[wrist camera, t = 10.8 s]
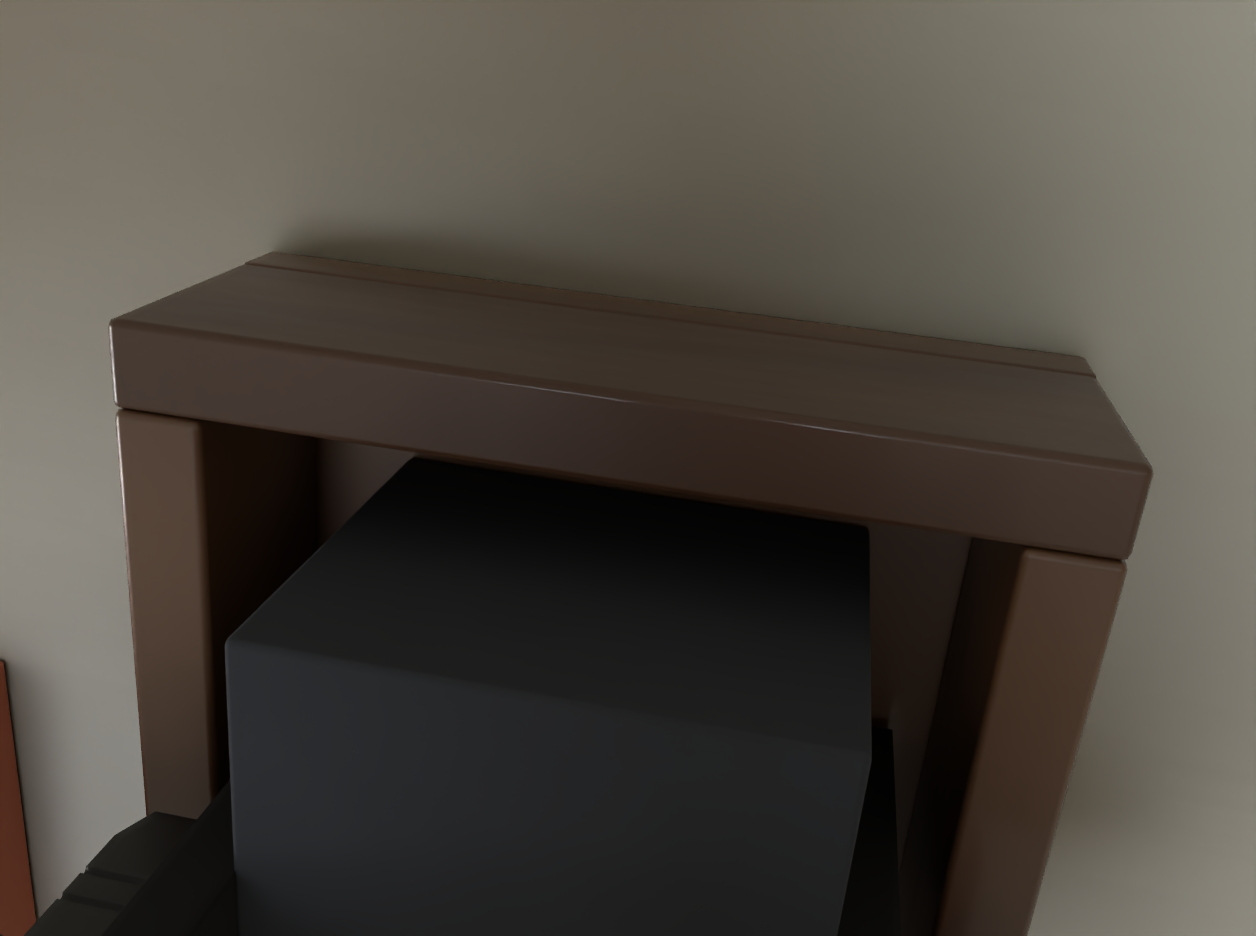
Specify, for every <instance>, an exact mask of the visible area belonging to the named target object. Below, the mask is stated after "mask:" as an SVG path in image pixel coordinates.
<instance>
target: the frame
mask: <svg viewBox="0 0 1256 936" xmlns="http://www.w3.org/2000/svg"><path fill="white" fill-rule="evenodd" d="M108 330H109V343H110V355H111V368H112V381H113V394H114V402H115V404H116V405H117V406H119V407H121V409H119V410H118V412H117V414H116V431H117V443H118V456H119V469H120V482H121V495H122V508H123V520H124V533H125V546H126V559H127V572H128V584H129V597H130V610H131V623H132V636H133V648H134V661H135V674H136V687H137V700H138V712H139V725H140V738H141V751H142V764H143V776H144V789H145V802H146V815H147V816H148V815H150V814H152V813H153V812H155V811H157V812H162V813H167V814H172V815H177V816H182V817H187V818H192V819H198V818H199V816H200V815H201V814H202V813H203V811H204V810H205V809H206V808H207V807H208V805H209V804H210V803H211V802H212V801H213V799H214V798H215V797H216V796H217V794H218V793H219V792H220V791H221V790H222V788H223V787H224V786H225V785H226V784H227V782H228V781H229V780H230V758H229V735H228V712H227V689H226V666H225V643H226V641H227V638H228V637H229V636H230V635H231V634H232V633H234V632H235V631H236V630H237V629H238V628H239V627H240V626H241V625H242V624H243V623H244V622H245V621H246V620H247V619H248V618H249V617H250V616H251V615H252V614H253V613H254V612H255V611H256V610H257V609H258V608H259V607H260V606H261V605H262V604H263V603H264V602H265V601H266V600H267V599H268V598H269V597H270V596H271V595H272V594H273V593H274V592H275V591H276V590H277V589H278V588H279V587H280V586H281V585H282V584H283V583H284V582H285V581H286V580H287V579H288V578H289V577H290V576H291V575H292V574H293V573H294V572H296V571H297V570H298V569H299V568H300V567H301V566H302V565H303V564H304V563H305V562H306V561H307V560H308V559H309V558H310V557H311V556H312V555H313V554H314V553H315V552H316V551H317V550H318V549H319V548H320V547H321V546H322V545H323V544H324V543H325V542H326V541H327V540H328V539H329V538H330V537H331V536H332V535H333V534H334V533H335V532H336V531H337V530H338V529H339V528H340V527H341V526H342V525H343V524H344V523H345V522H346V521H347V520H348V519H349V518H350V517H351V516H352V515H353V514H354V513H355V512H356V511H357V510H359V509H360V508H361V507H362V506H363V505H364V504H365V503H366V502H367V501H368V500H369V499H370V498H371V497H372V496H373V495H374V494H375V493H376V492H377V491H378V490H379V489H380V488H381V487H382V486H383V485H384V484H385V483H386V482H387V481H388V480H389V479H390V478H391V477H392V476H393V475H394V474H395V473H396V472H397V471H398V470H399V469H400V468H401V467H402V466H403V465H404V464H405V463H406V462H407V461H408V460H409V459H413V458H414V459H421V460H427V461H434V462H440V463H447V464H453V465H460V466H466V467H473V468H479V469H486V470H492V471H499V472H505V473H512V474H518V475H525V476H531V477H537V478H544V479H550V480H557V481H563V482H570V483H576V484H583V485H589V486H596V487H602V488H609V489H615V490H622V491H628V492H634V493H641V494H647V495H654V496H660V497H667V498H673V499H680V500H686V501H693V502H699V503H706V504H712V505H719V506H725V507H732V508H738V509H744V510H751V511H757V512H764V513H770V514H777V515H783V516H790V517H796V518H803V519H809V520H816V521H822V522H829V523H835V524H842V525H848V526H854V527H861V528H865V529H867V530H868V531H869V541H870V639H871V726H874V727H880V728H885V729H891V730H893V752H894V776H895V801H896V825H897V849H898V873H899V897H900V922H901V936H1027V934H1028V931H1029V927H1030V923H1031V920H1032V916H1033V913H1034V909H1035V905H1036V902H1037V898H1038V894H1039V891H1040V887H1041V883H1042V880H1043V876H1044V872H1045V869H1046V865H1047V861H1048V858H1049V854H1050V850H1051V847H1052V843H1053V839H1054V836H1055V832H1056V828H1057V825H1058V821H1059V817H1060V814H1061V810H1062V807H1063V803H1064V799H1065V796H1066V792H1067V788H1068V785H1069V781H1070V777H1071V774H1072V770H1073V766H1074V763H1075V759H1076V755H1077V752H1078V748H1079V744H1080V741H1081V737H1082V733H1083V730H1084V726H1085V722H1086V719H1087V715H1088V712H1089V708H1090V704H1091V701H1092V697H1093V693H1094V690H1095V686H1096V682H1097V679H1098V675H1099V671H1100V668H1101V664H1102V660H1103V657H1104V653H1105V649H1106V646H1107V642H1108V638H1109V635H1110V631H1111V627H1112V624H1113V620H1114V616H1115V613H1116V609H1117V606H1118V602H1119V598H1120V595H1121V591H1122V587H1123V584H1124V580H1125V576H1126V573H1127V566H1126V562H1125V559H1128V557H1129V556H1130V554H1131V553H1132V550H1133V546H1134V542H1135V539H1136V535H1137V531H1138V528H1139V524H1140V520H1141V517H1142V513H1143V510H1144V506H1145V502H1146V499H1147V495H1148V491H1149V488H1150V484H1151V480H1152V477H1153V470H1152V466H1151V465H1150V463H1149V461H1148V460H1147V458H1146V457H1145V455H1144V453H1143V452H1142V450H1141V449H1140V447H1139V446H1138V444H1137V442H1136V441H1135V439H1134V438H1133V436H1132V435H1131V433H1130V431H1129V430H1128V428H1127V427H1126V425H1125V424H1124V422H1123V420H1122V419H1121V417H1120V416H1119V414H1118V413H1117V411H1116V409H1115V408H1114V406H1113V405H1112V403H1111V402H1110V400H1109V398H1108V397H1107V395H1106V394H1105V392H1104V390H1103V389H1102V387H1101V386H1100V384H1099V383H1098V381H1097V380H1096V375H1095V374H1094V372H1093V371H1092V369H1091V367H1090V366H1089V364H1088V363H1087V361H1086V360H1085V359H1084V358H1082V357H1075V356H1067V355H1059V354H1052V353H1044V352H1036V351H1029V350H1021V349H1013V348H1006V347H998V346H991V345H983V344H975V343H968V342H960V341H952V340H945V339H937V338H929V337H922V336H914V335H906V334H899V333H891V332H883V331H876V330H868V329H860V328H853V327H845V326H838V325H830V324H822V323H815V322H807V321H799V320H792V319H784V318H776V317H769V316H761V315H753V314H746V313H738V312H730V311H723V310H715V309H707V308H700V307H692V306H685V305H677V304H669V303H662V302H654V301H646V300H639V299H631V298H623V297H616V296H608V295H600V294H593V293H585V292H577V291H570V290H562V289H554V288H547V287H539V286H532V285H524V284H516V283H509V282H501V281H493V280H486V279H478V278H470V277H463V276H455V275H447V274H440V273H432V272H424V271H417V270H409V269H401V268H394V267H386V266H378V265H371V264H363V263H356V262H348V261H340V260H333V259H325V258H317V257H310V256H302V255H294V254H287V253H279V252H270V253H268V254H265V255H263V256H260V257H258V258H256V259H253V260H251V261H248V262H246V263H245V265H242V266H239V267H237V268H235V269H232V270H230V271H227V272H225V273H222V274H220V275H218V276H215V277H213V278H210V279H208V280H205V281H203V282H201V283H198V284H196V285H193V286H191V287H189V288H186V289H184V290H181V291H179V292H176V293H174V294H172V295H169V296H167V297H164V298H162V299H160V300H157V301H155V302H152V303H150V304H147V305H145V306H143V307H140V308H138V309H135V310H133V311H131V312H128V313H126V314H123V315H121V316H118V317H116V318H114V319H111V321H110V323H109V327H108Z"/></svg>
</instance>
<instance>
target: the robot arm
mask: <svg viewBox="0 0 1256 936" xmlns="http://www.w3.org/2000/svg"><path fill="white" fill-rule="evenodd" d="M871 736H872V762H871V767H870V772H869V777H868V782H867V787H866V792H865V797H864V802H863V807H862V812H861V817H860V823H859V828H858V833H857V838H856V843H855V848H854V853H853V858H852V863H851V868H850V873H849V878H848V883H847V888H846V893H845V899H844V904H843V909H842V914H841V919H840V924H839V929H838V934H837V936H901V922H900V897H899V873H898V849H897V825H896V801H895V776H894V752H893V730H891V729H885V728H880V727H874V726H871ZM0 936H3V935H1V934H0ZM24 936H238V920H237V897H236V875H235V870H234V850H233V827H232V804H231V781H230V780H229V781H228V782H227V784H226V785H225V786H224V787H223V788H222V790H221V791H220V792H219V793H218V794H217V796H216V797H215V798H214V799H213V801H212V802H211V803H210V804H209V805H208V807H207V808H206V809H205V810H204V811H203V813H202V814H201V815H200V816H199V818H198V819H192V818H187V817H182V816H177V815H172V814H167V813H162V812H157V811H155V812H153V813H152V814H150V815H148V816H147V817H145V818H143V819H141V820H140V821H138V822H136V823H135V824H133V825H131V826H130V827H128V828H126V829H125V830H123V831H121V832H119V833H118V834H116V835H114V837H113V838H112V839H111V840H110V841H109V842H108V843H107V844H106V845H105V847H104V848H103V849H102V850H101V851H100V852H99V853H98V854H97V855H96V856H95V858H94V859H93V860H92V861H91V862H90V863H89V864H88V865H87V866H86V870H85V872H84V874H83V873H80V874H79V875H78V876H77V877H76V878H75V880H74V881H73V882H72V883H71V884H70V885H69V886H68V887H67V888H66V889H65V891H64V892H63V895H62V898H61V899H56V900H55V902H54V903H53V904H52V905H51V906H50V907H49V908H48V909H47V910H46V911H45V913H44V914H43V915H42V916H41V917H40V918H39V919H38V920H37V921H36V922H35V924H34V925H33V926H32V927H31V928H30V929H29V930H28V931H27V932H26V933H25V935H24Z"/></svg>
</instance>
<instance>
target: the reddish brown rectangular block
mask: <svg viewBox="0 0 1256 936" xmlns="http://www.w3.org/2000/svg"><path fill="white" fill-rule="evenodd" d="M35 922H36V916H35V909H34V901H33V893H32V885H31V877H30V869H29V861H28V853H27V845H26V837H25V829H24V821H23V813H22V805H21V797H20V789H19V781H18V773H17V765H16V757H15V749H14V742H13V734H12V726H11V718H10V710H9V702H8V694H7V686H6V678H5V670H4V663H3V662H1V661H0V934H1V935H3V936H24V935H25V933H26V932H27V931H28V930H29V929H30V928H31V927H32V926H33V925H34V924H35Z"/></svg>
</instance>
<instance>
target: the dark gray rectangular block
mask: <svg viewBox="0 0 1256 936" xmlns="http://www.w3.org/2000/svg"><path fill="white" fill-rule="evenodd" d="M225 666H226V689H227V712H228V735H229V758H230V781H231V804H232V827H233V850H234V870H235V875H236V897H237V920H238V936H837V934H838V929H839V924H840V919H841V914H842V909H843V904H844V899H845V893H846V888H847V883H848V878H849V873H850V868H851V863H852V858H853V853H854V848H855V843H856V838H857V833H858V828H859V823H860V817H861V812H862V807H863V802H864V797H865V792H866V787H867V782H868V777H869V772H870V767H871V762H872V736H871V639H870V541H869V531H868V530H867V529H865V528H861V527H854V526H848V525H842V524H835V523H829V522H822V521H816V520H809V519H803V518H796V517H790V516H783V515H777V514H770V513H764V512H757V511H751V510H744V509H738V508H732V507H725V506H719V505H712V504H706V503H699V502H693V501H686V500H680V499H673V498H667V497H660V496H654V495H647V494H641V493H634V492H628V491H622V490H615V489H609V488H602V487H596V486H589V485H583V484H576V483H570V482H563V481H557V480H550V479H544V478H537V477H531V476H525V475H518V474H512V473H505V472H499V471H492V470H486V469H479V468H473V467H466V466H460V465H453V464H447V463H440V462H434V461H427V460H421V459H414V458H413V459H409V460H408V461H407V462H406V463H405V464H404V465H403V466H402V467H401V468H400V469H399V470H398V471H397V472H396V473H395V474H394V475H393V476H392V477H391V478H390V479H389V480H388V481H387V482H386V483H385V484H384V485H383V486H382V487H381V488H380V489H379V490H378V491H377V492H376V493H375V494H374V495H373V496H372V497H371V498H370V499H369V500H368V501H367V502H366V503H365V504H364V505H363V506H362V507H361V508H360V509H359V510H357V511H356V512H355V513H354V514H353V515H352V516H351V517H350V518H349V519H348V520H347V521H346V522H345V523H344V524H343V525H342V526H341V527H340V528H339V529H338V530H337V531H336V532H335V533H334V534H333V535H332V536H331V537H330V538H329V539H328V540H327V541H326V542H325V543H324V544H323V545H322V546H321V547H320V548H319V549H318V550H317V551H316V552H315V553H314V554H313V555H312V556H311V557H310V558H309V559H308V560H307V561H306V562H305V563H304V564H303V565H302V566H301V567H300V568H299V569H298V570H297V571H296V572H294V573H293V574H292V575H291V576H290V577H289V578H288V579H287V580H286V581H285V582H284V583H283V584H282V585H281V586H280V587H279V588H278V589H277V590H276V591H275V592H274V593H273V594H272V595H271V596H270V597H269V598H268V599H267V600H266V601H265V602H264V603H263V604H262V605H261V606H260V607H259V608H258V609H257V610H256V611H255V612H254V613H253V614H252V615H251V616H250V617H249V618H248V619H247V620H246V621H245V622H244V623H243V624H242V625H241V626H240V627H239V628H238V629H237V630H236V631H235V632H234V633H232V634H231V635H230V636H229V637H228V638H227V641H226V643H225Z"/></svg>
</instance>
